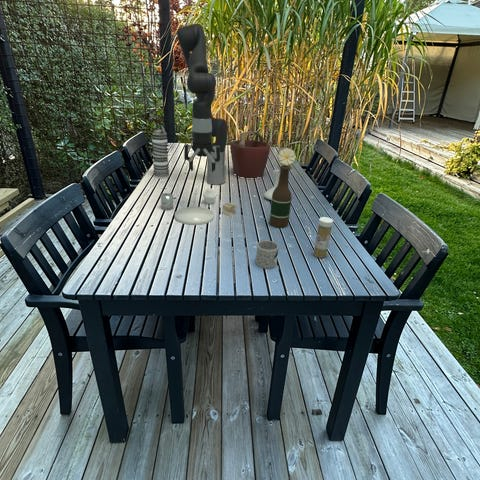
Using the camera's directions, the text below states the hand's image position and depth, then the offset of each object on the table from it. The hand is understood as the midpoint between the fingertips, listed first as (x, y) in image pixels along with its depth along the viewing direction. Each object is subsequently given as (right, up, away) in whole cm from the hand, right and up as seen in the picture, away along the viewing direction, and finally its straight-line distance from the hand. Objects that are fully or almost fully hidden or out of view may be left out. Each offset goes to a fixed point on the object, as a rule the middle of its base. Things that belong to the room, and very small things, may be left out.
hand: (202, 170), depth 138 cm
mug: (+24, -36, -28) cm, 51 cm away
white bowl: (-3, -19, +1) cm, 19 cm away
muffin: (+1, -11, +17) cm, 21 cm away
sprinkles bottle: (+43, -34, -23) cm, 59 cm away
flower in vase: (+34, -9, +26) cm, 44 cm away
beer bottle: (+31, -22, -1) cm, 38 cm away
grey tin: (-16, -15, +8) cm, 23 cm away
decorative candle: (-28, +7, +50) cm, 58 cm away
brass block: (+11, -17, +7) cm, 21 cm away
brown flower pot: (+20, +10, +62) cm, 66 cm away
